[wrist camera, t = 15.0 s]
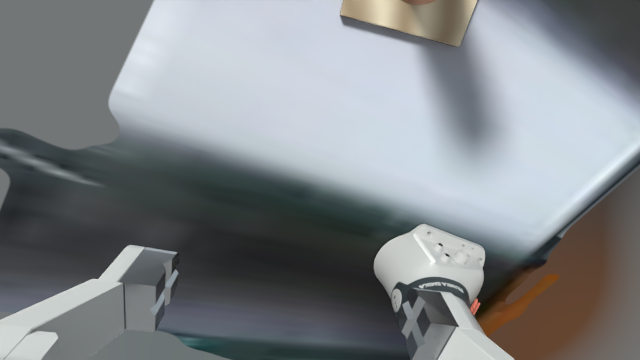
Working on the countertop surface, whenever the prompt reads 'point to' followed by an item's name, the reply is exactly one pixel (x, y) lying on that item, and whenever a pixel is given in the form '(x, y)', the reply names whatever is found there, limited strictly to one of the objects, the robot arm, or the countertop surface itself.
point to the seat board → (415, 16)
